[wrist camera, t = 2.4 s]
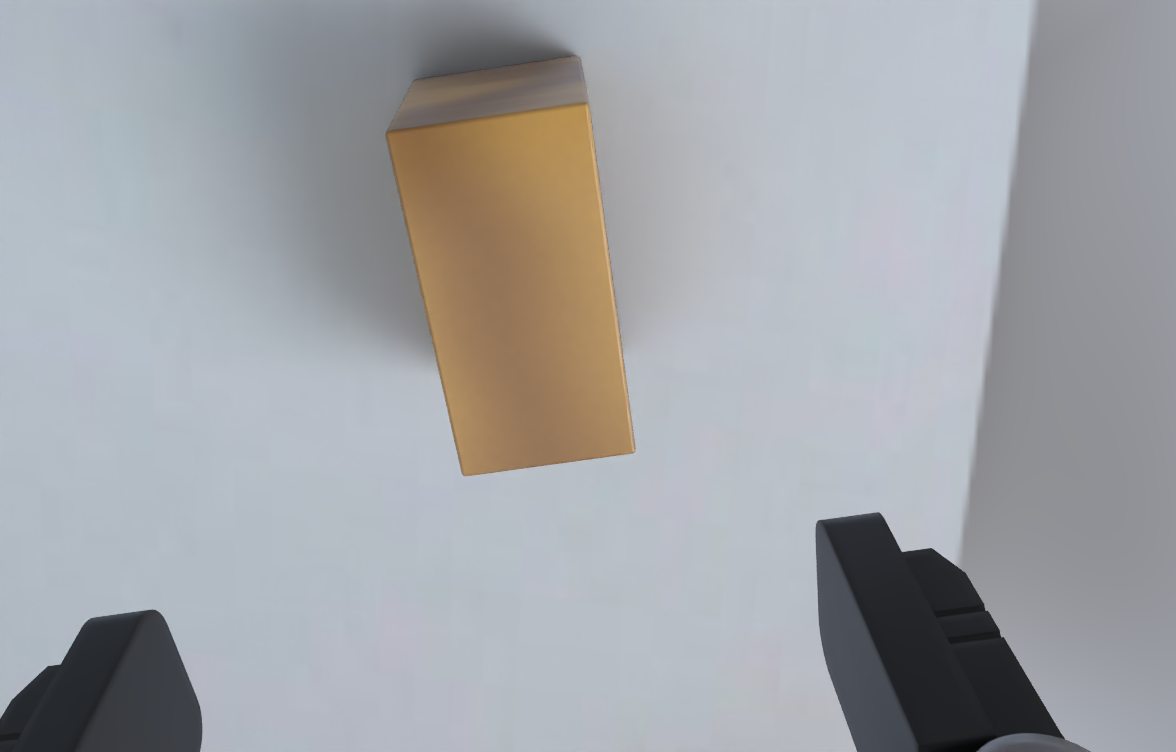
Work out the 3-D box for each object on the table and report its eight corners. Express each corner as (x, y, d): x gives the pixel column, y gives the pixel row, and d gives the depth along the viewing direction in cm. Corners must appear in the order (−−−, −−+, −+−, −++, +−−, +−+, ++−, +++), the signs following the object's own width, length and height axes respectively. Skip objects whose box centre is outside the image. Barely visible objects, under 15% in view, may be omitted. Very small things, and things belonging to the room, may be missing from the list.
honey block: (580, 54, 25) (589, 102, 20) (621, 357, 28) (636, 454, 24) (411, 79, 25) (384, 131, 20) (474, 378, 28) (462, 478, 24)
